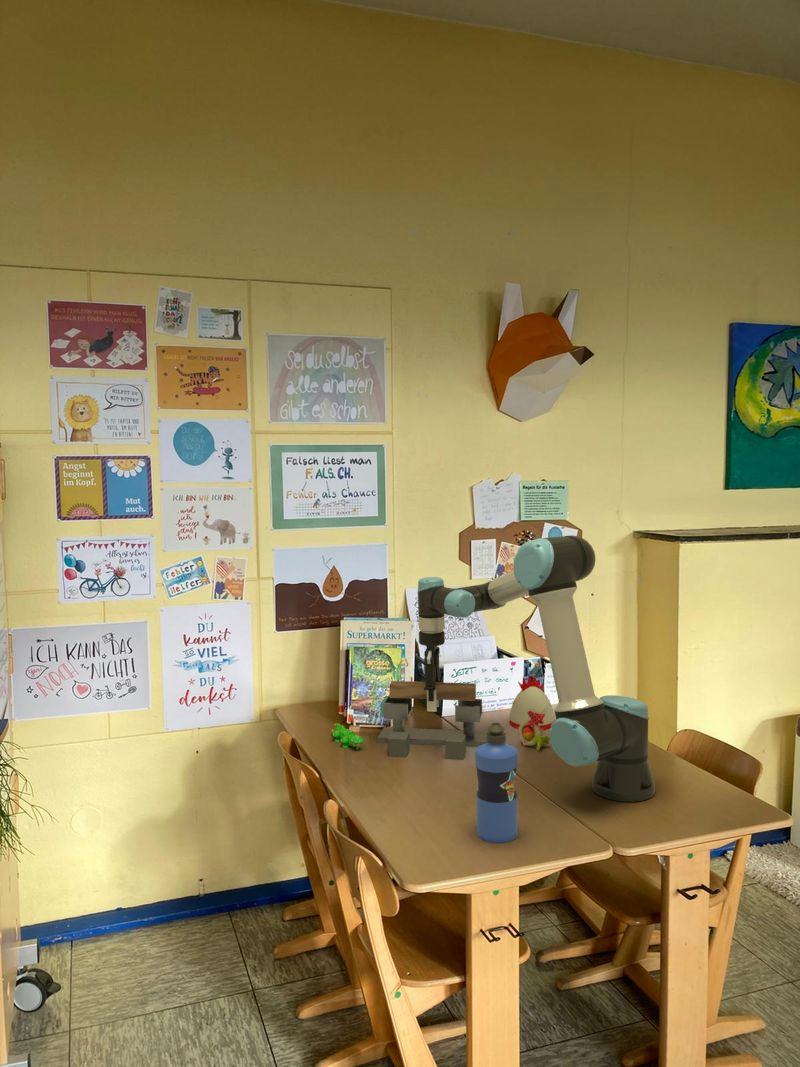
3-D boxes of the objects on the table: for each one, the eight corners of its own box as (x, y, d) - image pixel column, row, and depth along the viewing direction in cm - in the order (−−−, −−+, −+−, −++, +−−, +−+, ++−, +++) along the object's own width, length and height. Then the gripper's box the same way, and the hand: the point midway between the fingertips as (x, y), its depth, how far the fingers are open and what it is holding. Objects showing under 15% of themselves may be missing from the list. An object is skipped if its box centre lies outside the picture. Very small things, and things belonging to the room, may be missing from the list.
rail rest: (463, 759, 229) (463, 742, 229) (388, 756, 233) (388, 738, 233) (465, 751, 235) (465, 734, 234) (392, 748, 239) (392, 731, 238)
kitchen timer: (503, 718, 264) (503, 672, 262) (545, 715, 266) (544, 669, 265) (517, 732, 250) (517, 684, 248) (561, 729, 252) (561, 680, 251)
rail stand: (486, 747, 238) (486, 707, 237) (377, 742, 244) (376, 704, 243) (489, 736, 247) (488, 698, 246) (383, 732, 253) (383, 695, 252)
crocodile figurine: (350, 754, 236) (349, 739, 235) (324, 736, 251) (324, 722, 251) (371, 750, 239) (370, 735, 238) (344, 732, 254) (344, 718, 254)
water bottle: (468, 836, 183) (466, 726, 181) (488, 820, 191) (486, 714, 189) (506, 847, 178) (505, 733, 176) (525, 830, 186) (524, 721, 184)
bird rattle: (520, 756, 236) (546, 749, 231) (506, 718, 238) (532, 711, 233) (531, 750, 241) (557, 743, 236) (517, 713, 243) (542, 705, 238)
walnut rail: (474, 700, 240) (474, 687, 240) (389, 697, 245) (389, 684, 245) (476, 696, 244) (475, 683, 244) (392, 693, 249) (392, 680, 248)
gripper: (423, 624, 252) (425, 699, 254) (413, 636, 235) (415, 717, 237) (448, 624, 250) (449, 700, 252) (440, 637, 233) (441, 718, 236)
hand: (433, 708), depth 245 cm, fingers closed on walnut rail, 4 cm apart
